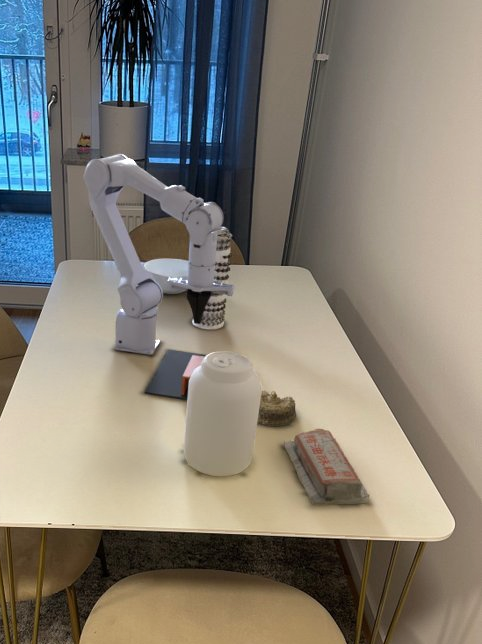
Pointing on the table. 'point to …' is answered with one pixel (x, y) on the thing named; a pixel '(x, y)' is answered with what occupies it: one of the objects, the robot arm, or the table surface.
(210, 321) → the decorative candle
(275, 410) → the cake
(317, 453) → the packaged product
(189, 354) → the mat
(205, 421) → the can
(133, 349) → the robot arm
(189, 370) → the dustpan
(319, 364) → the table surface
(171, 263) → the cereal bowl
